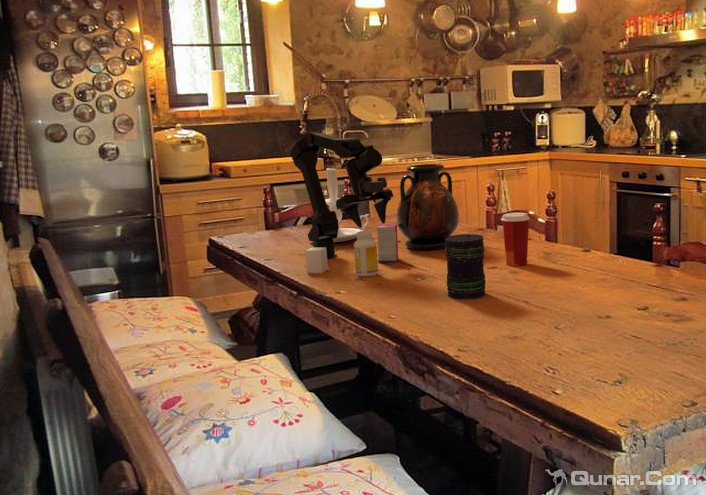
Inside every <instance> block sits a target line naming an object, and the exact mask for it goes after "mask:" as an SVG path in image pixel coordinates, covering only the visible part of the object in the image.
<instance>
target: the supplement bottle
mask: <svg viewBox="0 0 706 495" xmlns="http://www.w3.org/2000/svg"><path fill="white" fill-rule="evenodd" d="M355 238H357V239H356V241H355V242H353V243H354V244H353V253H354V264H355V265H354V267H355V275H356V276H358V277H361V278H362V277H365V278H366V277H373V276H376V275H378V273H379V265H378V263H379V262H378V247H377V242H376V240H374V239H373V231H372V230H371V231H370V230H365V231H360V232H357V233H356V237H355Z"/></svg>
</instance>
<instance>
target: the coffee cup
mask: <svg viewBox="0 0 706 495" xmlns="http://www.w3.org/2000/svg"><path fill="white" fill-rule="evenodd" d="M529 220H530V217H529V214H528V213H526V212H509V213H504V214H503V215H502V216H501V218H500V221H501V222H502V231H503V232H502V233H503V240H504V241H503V242H504V243H503V244H504V253H505V261H506V263H505V264H506V266H509V267H523V266H526V265H527V264H528V249H529V245H528V244H529Z"/></svg>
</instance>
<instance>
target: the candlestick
mask: <svg viewBox="0 0 706 495" xmlns="http://www.w3.org/2000/svg"><path fill="white" fill-rule="evenodd" d="M325 169H326V182H327V188H328V189H327V191H328V195H329V198H325V200H326V204H327V206H328V207H329V208H328V209H329V210H330V211H335V213H336V216H337V219H338V221H339V222H338V224H340V222H341V221H342V219H343V213H342V211H341V209H337V207H336V201H337V200H338V199H339V198H340V197H338V195H339V187H338V186H339V185H338V174H337V173H338V172H337V168H331V167H327V168H325ZM359 216H360V219H362V218H365V220H366V222H365V224H364V225H363V224H362V227H361V229H360V228H349V227H346V228H345V227H344V228H343V227H342V228H341V227H339V229H338V235H337V238H333V243H343V242H348V241H351V240H353V239H355V238H357V237H356V233H357V232H360V231H366V229H367V226H368V225H369V223H370V222H369V216H370V214H369V213H366V214H364V215H359Z"/></svg>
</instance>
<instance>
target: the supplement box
mask: <svg viewBox="0 0 706 495" xmlns="http://www.w3.org/2000/svg"><path fill="white" fill-rule="evenodd" d="M376 229H377V230H376V232H377V263H379V264H381V263H396V262H397V260H398V259H399V248H398V246H399V243H398V225H397V224H379V225H378V226H377V227H376Z"/></svg>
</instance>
